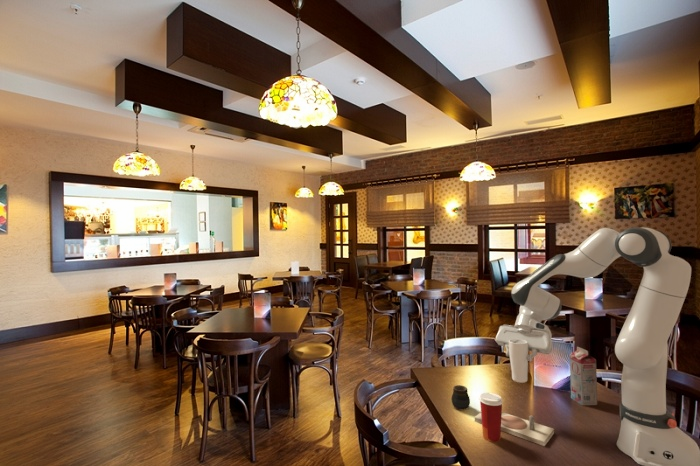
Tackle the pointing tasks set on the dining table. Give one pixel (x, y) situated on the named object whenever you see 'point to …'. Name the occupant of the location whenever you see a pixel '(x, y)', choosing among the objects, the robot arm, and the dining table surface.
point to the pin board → (523, 428)
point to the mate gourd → (460, 397)
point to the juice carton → (583, 377)
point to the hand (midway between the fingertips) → (518, 358)
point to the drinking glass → (518, 360)
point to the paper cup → (491, 416)
